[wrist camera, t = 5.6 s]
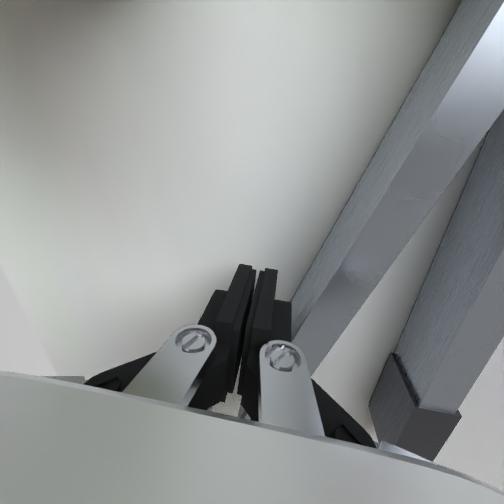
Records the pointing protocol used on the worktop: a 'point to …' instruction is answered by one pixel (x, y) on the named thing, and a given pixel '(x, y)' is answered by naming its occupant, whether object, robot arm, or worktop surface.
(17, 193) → the worktop surface
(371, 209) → the bar
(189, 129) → the worktop surface
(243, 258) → the worktop surface
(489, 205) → the tongs fixed
